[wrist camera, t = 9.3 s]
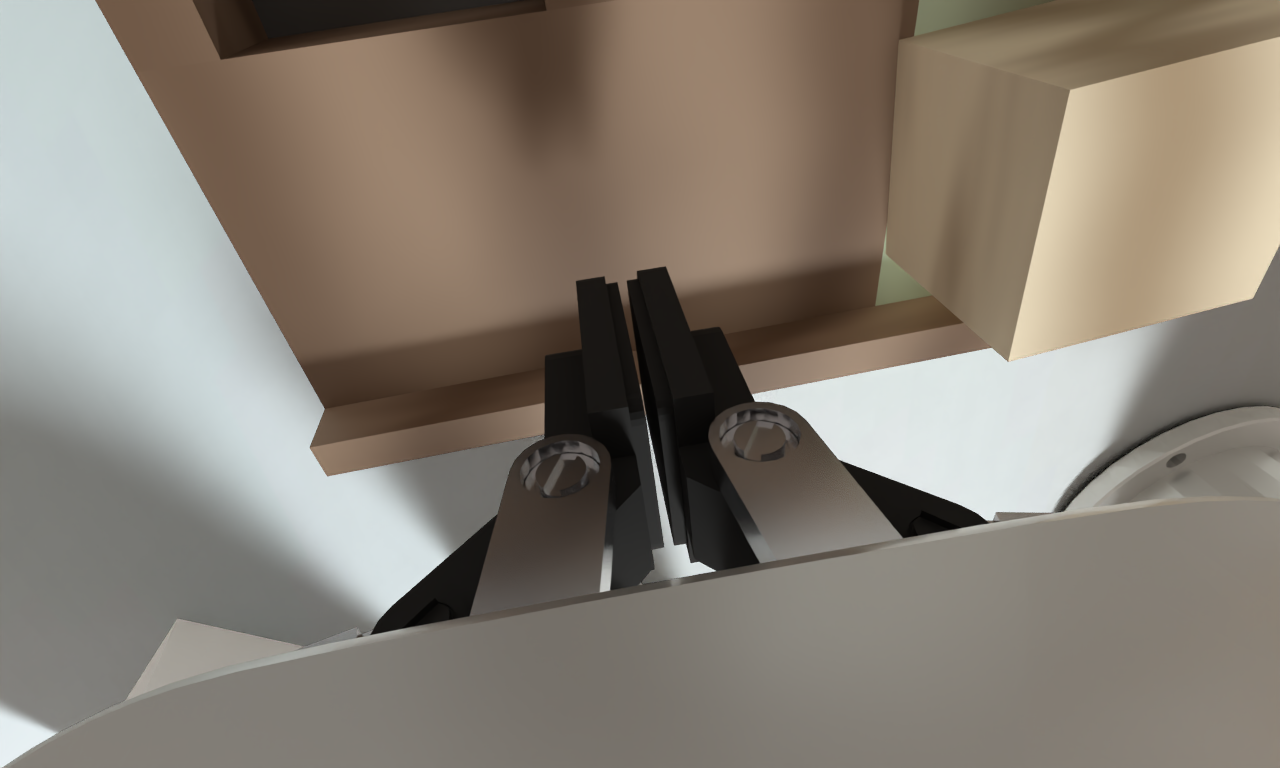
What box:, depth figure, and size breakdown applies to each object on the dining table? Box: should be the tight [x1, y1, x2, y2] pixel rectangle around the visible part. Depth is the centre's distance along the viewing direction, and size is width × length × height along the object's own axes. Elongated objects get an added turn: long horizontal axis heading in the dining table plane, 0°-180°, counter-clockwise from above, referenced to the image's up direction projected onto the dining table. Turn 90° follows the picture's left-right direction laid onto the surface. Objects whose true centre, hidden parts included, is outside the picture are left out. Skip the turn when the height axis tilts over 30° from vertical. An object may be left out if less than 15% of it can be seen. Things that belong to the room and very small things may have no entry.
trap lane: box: [95, 0, 1056, 476], centre depth 13 cm, size 22×16×5 cm
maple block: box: [885, 0, 1280, 362], centre depth 12 cm, size 5×5×5 cm
